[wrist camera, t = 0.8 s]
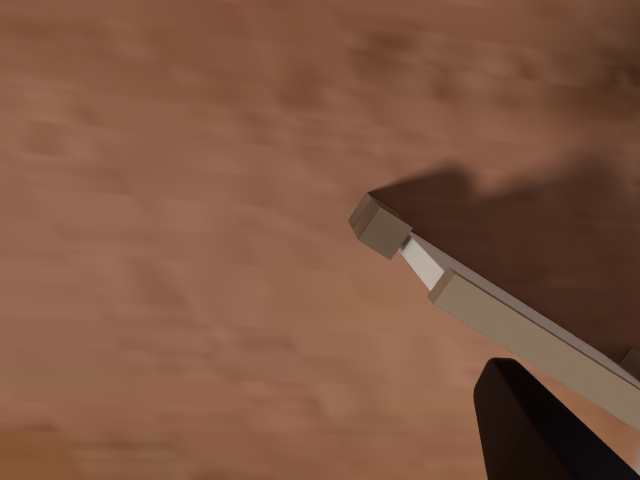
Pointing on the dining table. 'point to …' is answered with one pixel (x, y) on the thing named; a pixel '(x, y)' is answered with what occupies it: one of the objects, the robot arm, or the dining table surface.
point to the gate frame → (391, 230)
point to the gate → (523, 331)
